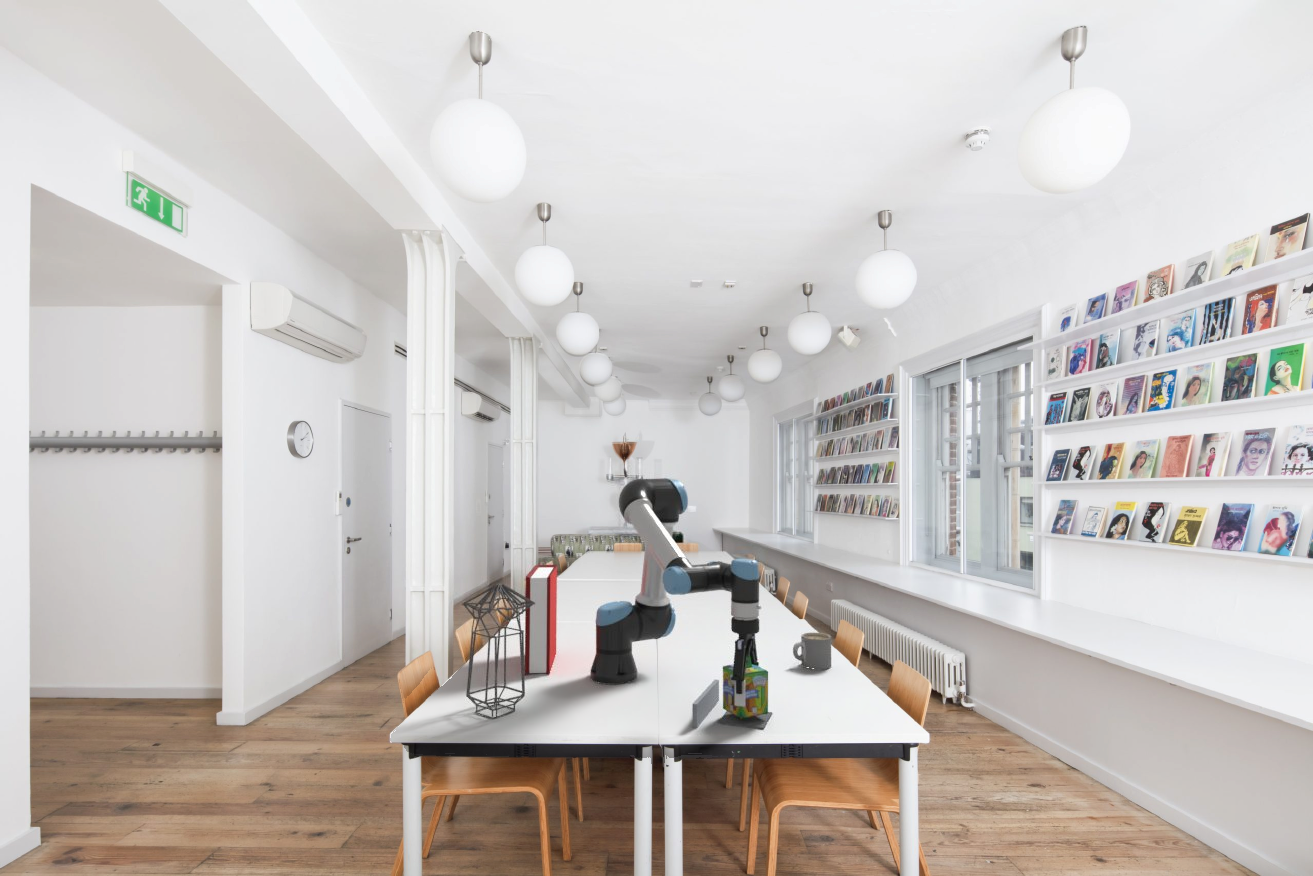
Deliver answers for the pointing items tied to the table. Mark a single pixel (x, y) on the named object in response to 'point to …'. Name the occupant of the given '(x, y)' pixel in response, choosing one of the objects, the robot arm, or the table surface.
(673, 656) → the table surface
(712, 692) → the low wall
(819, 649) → the coffee mug
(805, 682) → the table surface
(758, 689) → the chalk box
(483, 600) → the geometric lantern
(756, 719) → the mat
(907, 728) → the table surface
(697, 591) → the robot arm
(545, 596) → the book
